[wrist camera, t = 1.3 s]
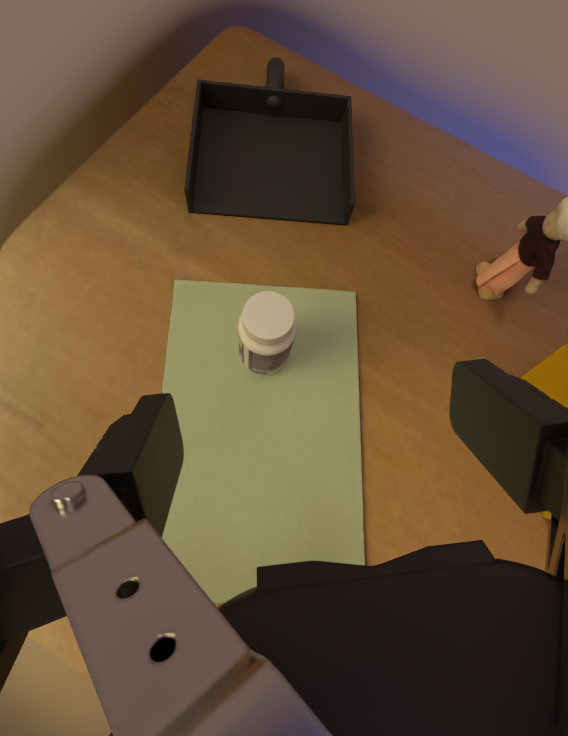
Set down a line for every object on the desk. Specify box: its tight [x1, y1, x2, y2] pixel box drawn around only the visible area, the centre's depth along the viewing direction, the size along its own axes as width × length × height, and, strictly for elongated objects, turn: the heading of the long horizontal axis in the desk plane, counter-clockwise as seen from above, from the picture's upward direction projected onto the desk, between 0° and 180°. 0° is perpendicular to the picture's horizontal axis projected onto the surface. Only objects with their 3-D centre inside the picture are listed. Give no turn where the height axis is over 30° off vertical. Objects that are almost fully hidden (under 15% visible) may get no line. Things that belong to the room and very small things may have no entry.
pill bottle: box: [238, 291, 296, 375], centre depth 34 cm, size 5×5×8 cm
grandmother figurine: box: [476, 197, 568, 300], centre depth 37 cm, size 8×4×13 cm, turn 6°
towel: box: [162, 279, 365, 603], centre depth 36 cm, size 28×18×1 cm, turn 179°
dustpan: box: [185, 57, 355, 225], centre depth 44 cm, size 20×17×3 cm
